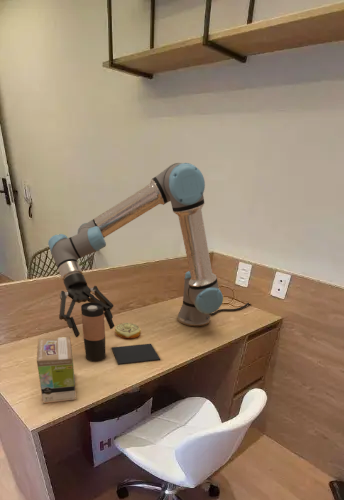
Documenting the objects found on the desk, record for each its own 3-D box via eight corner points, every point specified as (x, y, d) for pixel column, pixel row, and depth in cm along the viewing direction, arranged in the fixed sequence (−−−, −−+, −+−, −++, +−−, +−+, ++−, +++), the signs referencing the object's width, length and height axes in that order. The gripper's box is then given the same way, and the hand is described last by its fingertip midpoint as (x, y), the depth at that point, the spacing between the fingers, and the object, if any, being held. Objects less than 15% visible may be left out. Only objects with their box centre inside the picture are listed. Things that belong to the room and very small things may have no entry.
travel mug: (96, 350, 131) (92, 300, 120) (110, 356, 128) (108, 306, 117) (81, 357, 126) (75, 306, 115) (95, 364, 122) (91, 312, 111)
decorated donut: (129, 342, 139) (129, 333, 137) (110, 334, 144) (109, 326, 142) (145, 334, 146) (145, 326, 144) (126, 327, 151) (126, 319, 149)
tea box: (77, 400, 104) (72, 357, 96) (42, 404, 101) (34, 361, 93) (74, 374, 116) (70, 335, 108) (43, 377, 113) (36, 337, 105)
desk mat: (150, 344, 138) (150, 343, 138) (160, 360, 128) (160, 358, 128) (111, 348, 133) (111, 347, 133) (118, 365, 123) (118, 363, 123)
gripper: (101, 278, 131) (122, 328, 130) (36, 287, 117) (59, 343, 116) (107, 268, 125) (129, 320, 123) (40, 276, 111) (64, 335, 110)
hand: (95, 331), depth 120 cm, fingers open, 13 cm apart
